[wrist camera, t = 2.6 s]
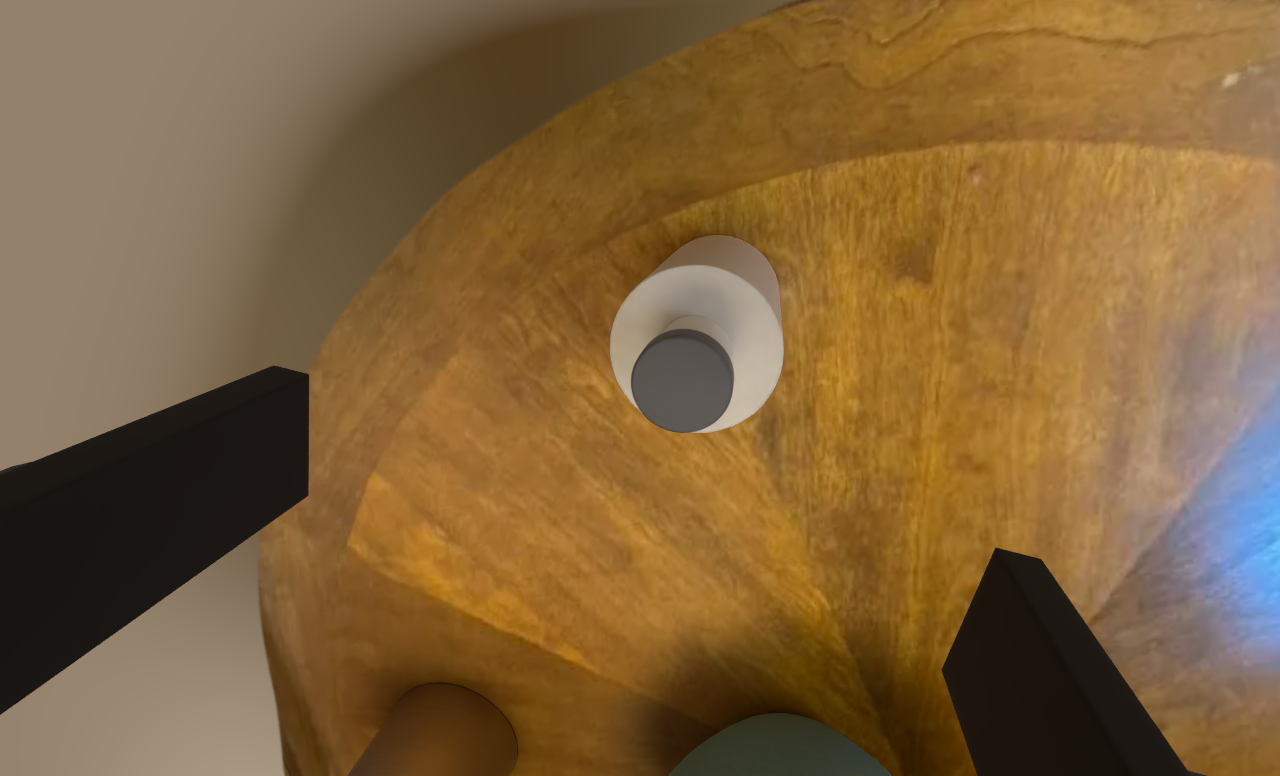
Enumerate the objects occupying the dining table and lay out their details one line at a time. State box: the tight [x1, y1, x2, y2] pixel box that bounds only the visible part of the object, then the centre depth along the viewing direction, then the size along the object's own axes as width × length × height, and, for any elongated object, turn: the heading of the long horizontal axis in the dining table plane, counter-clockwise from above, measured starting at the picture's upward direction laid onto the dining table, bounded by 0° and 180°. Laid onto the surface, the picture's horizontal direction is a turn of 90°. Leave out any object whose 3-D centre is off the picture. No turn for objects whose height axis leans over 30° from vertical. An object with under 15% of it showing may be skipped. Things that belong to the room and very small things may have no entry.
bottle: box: [610, 235, 784, 433], centre depth 25 cm, size 6×6×14 cm
